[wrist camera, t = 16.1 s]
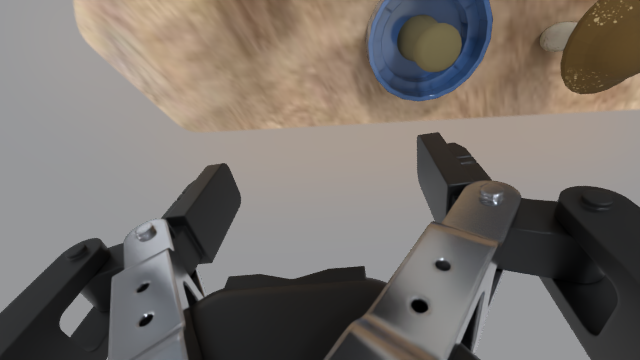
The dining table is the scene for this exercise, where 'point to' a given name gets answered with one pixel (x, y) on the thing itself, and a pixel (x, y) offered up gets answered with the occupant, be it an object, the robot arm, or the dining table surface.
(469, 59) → the bowl
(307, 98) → the dining table surface
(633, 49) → the mushroom
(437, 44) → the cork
